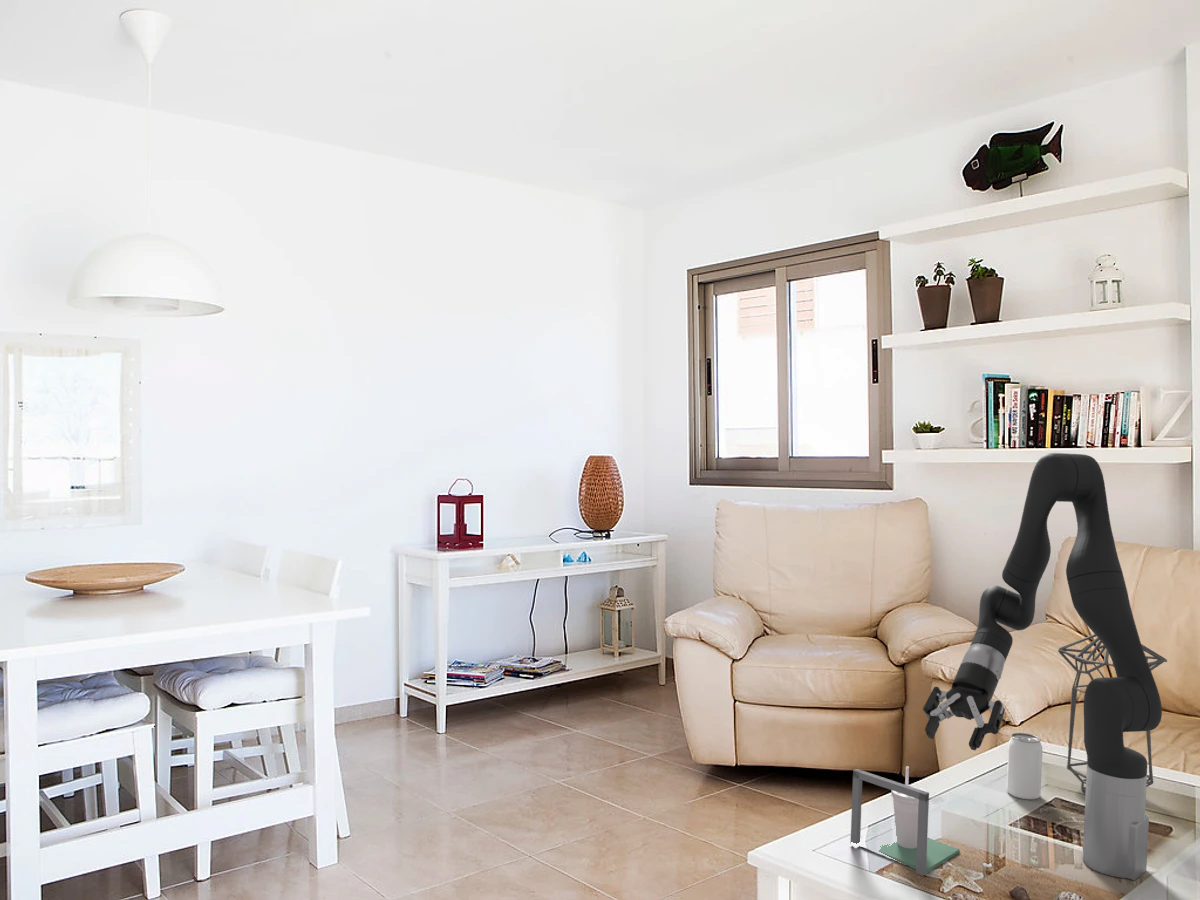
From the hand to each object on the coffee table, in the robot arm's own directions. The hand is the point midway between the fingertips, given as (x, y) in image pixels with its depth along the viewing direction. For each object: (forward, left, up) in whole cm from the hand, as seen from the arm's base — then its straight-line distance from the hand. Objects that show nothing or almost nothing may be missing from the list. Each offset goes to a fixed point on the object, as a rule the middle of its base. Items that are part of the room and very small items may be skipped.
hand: (950, 742), depth 181 cm
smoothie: (0, +14, -16) cm, 21 cm away
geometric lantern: (-14, -41, -16) cm, 47 cm away
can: (-3, -27, -16) cm, 32 cm away
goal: (0, +15, -16) cm, 22 cm away
